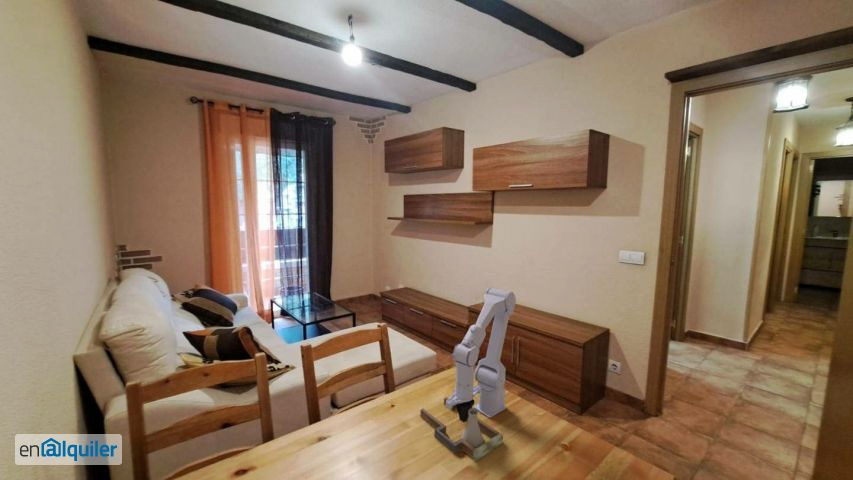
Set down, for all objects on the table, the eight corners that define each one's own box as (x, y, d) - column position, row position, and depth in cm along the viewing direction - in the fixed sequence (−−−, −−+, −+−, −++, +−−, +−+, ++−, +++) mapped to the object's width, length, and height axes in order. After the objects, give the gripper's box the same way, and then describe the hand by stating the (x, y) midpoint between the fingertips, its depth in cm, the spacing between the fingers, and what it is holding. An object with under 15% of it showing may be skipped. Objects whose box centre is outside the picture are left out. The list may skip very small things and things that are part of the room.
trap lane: (451, 400, 130) (451, 394, 129) (508, 438, 110) (508, 431, 109) (414, 419, 118) (414, 412, 118) (469, 465, 98) (469, 457, 98)
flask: (480, 452, 104) (481, 421, 102) (457, 444, 107) (458, 414, 105) (486, 437, 110) (487, 408, 109) (464, 430, 113) (465, 402, 112)
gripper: (470, 369, 118) (469, 406, 120) (439, 383, 109) (438, 423, 111) (486, 377, 113) (484, 416, 115) (455, 393, 104) (454, 434, 105)
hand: (463, 420), depth 112 cm, fingers closed
